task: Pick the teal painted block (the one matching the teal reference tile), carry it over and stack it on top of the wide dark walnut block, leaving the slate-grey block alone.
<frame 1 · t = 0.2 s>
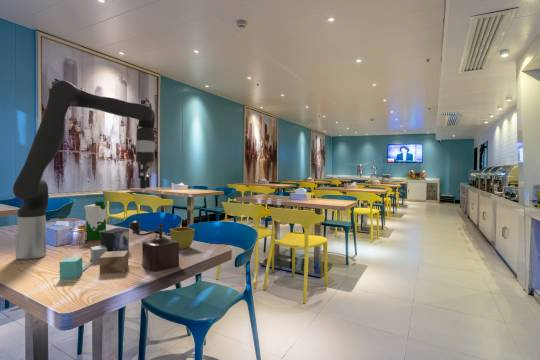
hand: (145, 188, 134), 29 cm above the table, fingers open, 8 cm apart
walnut base: (114, 269, 112), on the table
teal block: (71, 276, 105), on the table
flower pot: (182, 248, 145), on the table
small box: (115, 254, 133), on the table
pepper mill: (153, 267, 116), on the table
milk carton: (96, 239, 160), on the table
reference tile: (76, 268, 113), on the table
grey block: (100, 255, 122), point 2 cm above the table, tilted 90°
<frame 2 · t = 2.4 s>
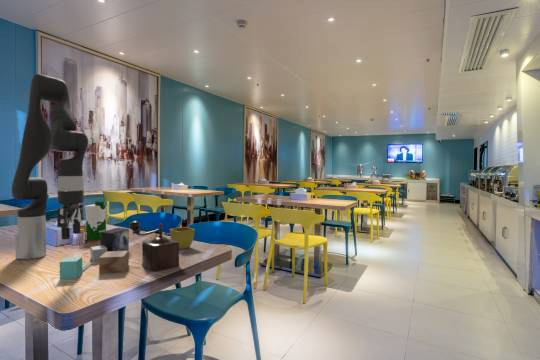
hand: (71, 236, 104), 14 cm above the table, fingers open, 8 cm apart
nothing on the table moved.
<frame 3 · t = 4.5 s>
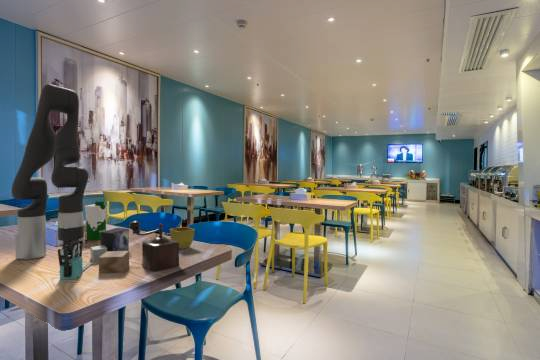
hand: (71, 273, 105), 1 cm above the table, fingers closed on teal block, 5 cm apart
teal block: (71, 276, 105), on the table, touching gripper
everything else where it was.
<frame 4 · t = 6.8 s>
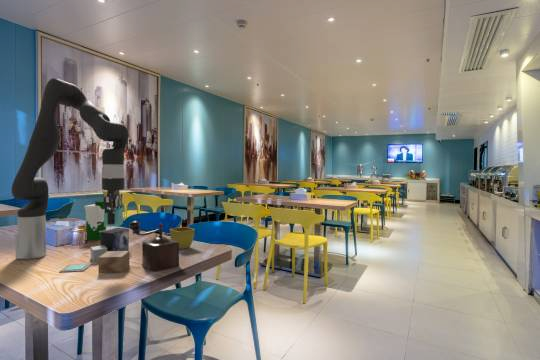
hand: (113, 222, 112), 17 cm above the table, fingers closed on teal block, 5 cm apart
teal block: (113, 225, 112), point 16 cm above the table, touching gripper
everything else where it was.
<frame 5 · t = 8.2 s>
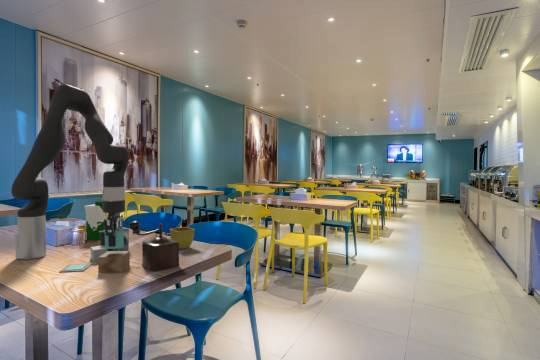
hand: (114, 244, 113), 9 cm above the table, fingers closed on teal block, 5 cm apart
teal block: (114, 246, 113), point 8 cm above the table, touching gripper
everything else where it was.
when the fingers open (8 cm above the table, at t = 9.3 s): teal block drops 1 cm, resting on walnut base.
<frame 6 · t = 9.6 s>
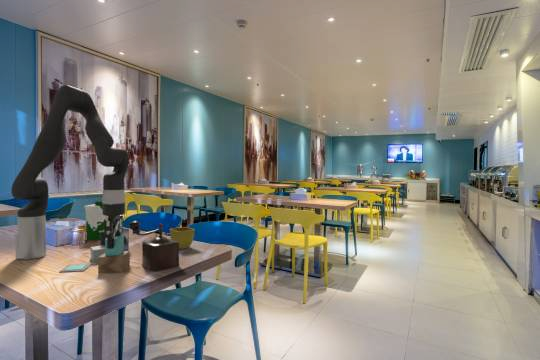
hand: (114, 245, 113), 9 cm above the table, fingers open, 7 cm apart
walnut base: (114, 270, 112), on the table, touching teal block
teal block: (114, 253, 113), point 6 cm above the table, touching walnut base
everything else where it was.
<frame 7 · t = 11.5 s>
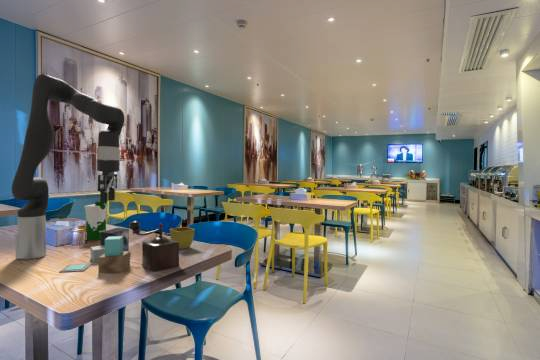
hand: (107, 201, 115), 25 cm above the table, fingers open, 8 cm apart
nothing on the table moved.
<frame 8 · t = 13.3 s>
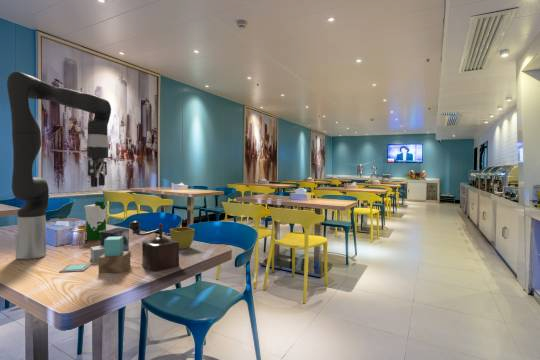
hand: (98, 186, 124), 30 cm above the table, fingers open, 8 cm apart
nothing on the table moved.
at the end: teal block 0.3 cm off-centre on the walnut base, point 6.0 cm above the walnut base's base; teal block tilted 0°; the gripper is holding nothing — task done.
